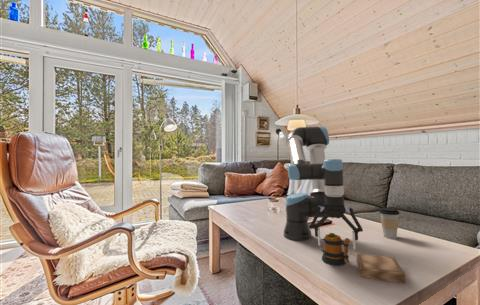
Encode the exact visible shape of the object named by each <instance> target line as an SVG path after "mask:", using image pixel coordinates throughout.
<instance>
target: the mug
mask: <svg viewBox="0 0 480 305" xmlns="http://www.w3.org/2000/svg"><path fill="white" fill-rule="evenodd" d="M320 241H323V243H324V247H323V250H322V249H321V250H320V252H321V253H322V256H321V260H322V262H323V263H324V264H326V265H328V266H335V267H341V266H345V265H346V264H347V263H350V258H349V257H350V256H349V244H350V243H351V239H350V238H348V237H346V238H345V239H344V240H343V239H341V236H340V235H338V234H335V232H329V233H328V234H325V235H324V236H323V238H320ZM343 247H344V250H343Z"/></svg>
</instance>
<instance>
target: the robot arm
mask: <svg viewBox="0 0 480 305" xmlns="http://www.w3.org/2000/svg"><path fill="white" fill-rule="evenodd" d="M329 136H330V134H329V132H328V129H327V128H326V127H325V126H318V125H317V126H304V127H303V126H302V127H300V126H299V127H296V128H294V129H293V130H292V131H290V132H289V133H288V135H287V137H286V142H285V143H286V146H287V147H288V151H289V158H290V164H288V166H287V178H288V179H289V180H290V181H292V180H293V181H304V180H305V181H306V180H307V181H308V180H310V181H311V187H312V190H311V192H310V193H309V195H308V194H307V193H305V192H304V193H302V192H301V193H292V194H288V195H287V196H286V198H285V207H286V208H285V209H286V210H285V211H286V213H285V214H286V216H285V217H286V222H285V225H284V228H283V236H284V238H286V239H288V240H292V241H307V240H310V239H312V230H311V229H314V236H315V238H317V245H318V246H321V230H320V227H321V226H322V225H323V224H324V222H326V220H328V219H329V218H331V219H340V218H341V219H342V220H343V221H344V222H345V223H346V224H347V226H348V227H349V228H351V229H352V232H351V233H352V234H351V236H352V247H353V248H352V249H353V250H357V248H356V242H357V241H359V233H361V232H363V230H364V229H363V228H362V225H361V224H360V222H359V221H358V218H357V217H356V215H355V213H354V209H353V207H351V206H350V207H345V197H344V195H345V191H344V165H343V160H342V159H341V158H334V159H333V158H331V159H330V158H329V159H327V158H326V152H325V150H326V149H327V146H328V145H329V144H330V137H329ZM303 147H306V150H307V151H309V160H310V161H309V163H307V159H306V156H305V155H306V154H305V152H304V148H303ZM346 212H347V213H348V214H350V216H351V218H352V219H353V222H354V223H355V225H354V224H353V223H352V221H350V220H349V218H348V217H347V216H346V215H345V213H346ZM309 218H313V219H312V220H311V223H310V225H309V221H308V220H309ZM318 218H321V219H320V220H319V221H318V222H317V220H318Z"/></svg>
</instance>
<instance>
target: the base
mask: <svg viewBox="0 0 480 305" xmlns="http://www.w3.org/2000/svg"><path fill="white" fill-rule="evenodd" d="M356 263H357V268H358V273H359V276H360V278H367V279H373V280H379V281H386V282H392V283H393V282H394V283H400V284H406V283H407V282H406V279H407V278H406V274H405V272H404V270H403V268H402V267H401V265H400V264H399V262H398V260H397V258H396V257H391V256H383V255H382V256H381V255H373V254H364V253H356Z"/></svg>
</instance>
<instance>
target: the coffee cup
mask: <svg viewBox="0 0 480 305" xmlns="http://www.w3.org/2000/svg"><path fill="white" fill-rule="evenodd" d="M378 213H380V220H381V221H380V222H381V228H382V233H383V237H384V238H386V239H390V240H393V239H397V236H398V229H399V228H398V226H399V215H400V211H399V210H398V208H396V207H387V206H386V207H385V206H383V207H380V209H379V210H378Z"/></svg>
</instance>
